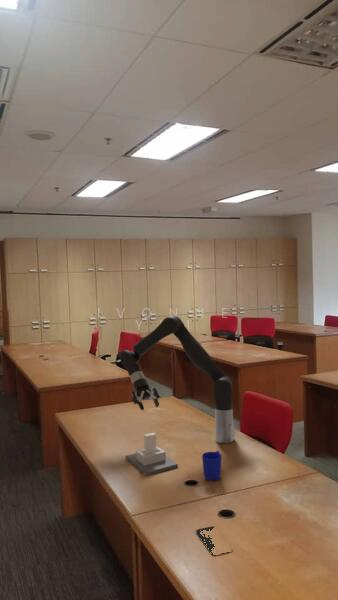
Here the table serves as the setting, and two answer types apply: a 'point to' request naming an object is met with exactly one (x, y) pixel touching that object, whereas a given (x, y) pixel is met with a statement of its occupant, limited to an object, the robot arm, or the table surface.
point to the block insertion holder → (151, 461)
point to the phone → (206, 538)
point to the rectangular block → (150, 443)
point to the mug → (212, 465)
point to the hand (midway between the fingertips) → (150, 408)
